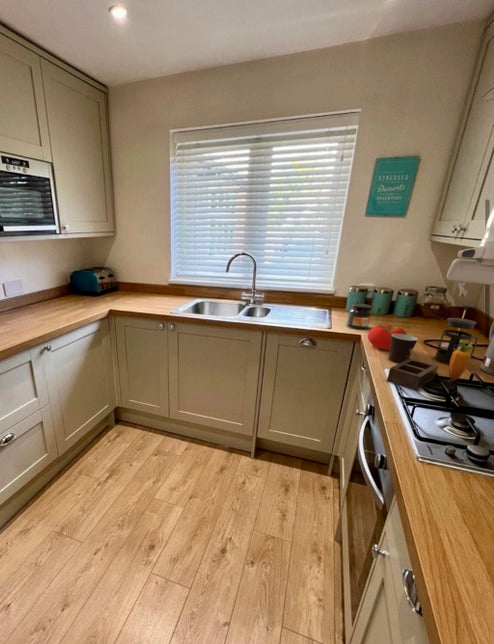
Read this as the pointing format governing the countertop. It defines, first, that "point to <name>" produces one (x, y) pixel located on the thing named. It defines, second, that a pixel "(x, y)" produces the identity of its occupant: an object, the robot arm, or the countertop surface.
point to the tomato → (383, 336)
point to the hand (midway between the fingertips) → (480, 298)
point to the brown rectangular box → (412, 374)
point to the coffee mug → (401, 347)
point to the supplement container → (359, 316)
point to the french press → (455, 337)
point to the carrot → (459, 361)
